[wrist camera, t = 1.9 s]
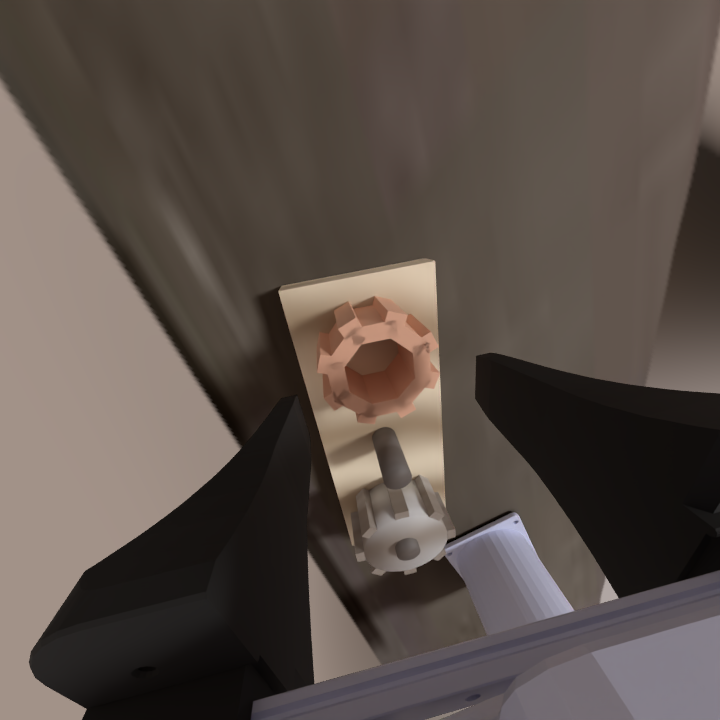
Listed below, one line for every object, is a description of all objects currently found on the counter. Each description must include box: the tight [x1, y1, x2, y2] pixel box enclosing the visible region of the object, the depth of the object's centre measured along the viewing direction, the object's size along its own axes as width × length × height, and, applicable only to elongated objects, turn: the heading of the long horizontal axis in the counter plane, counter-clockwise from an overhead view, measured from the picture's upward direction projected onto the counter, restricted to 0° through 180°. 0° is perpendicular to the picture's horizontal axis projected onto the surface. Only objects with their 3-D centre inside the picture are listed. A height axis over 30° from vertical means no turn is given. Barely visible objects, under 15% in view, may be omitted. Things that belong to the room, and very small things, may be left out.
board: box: [278, 258, 455, 576], centre depth 18 cm, size 21×8×5 cm, turn 9°
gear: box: [317, 296, 440, 424], centre depth 14 cm, size 6×6×3 cm
